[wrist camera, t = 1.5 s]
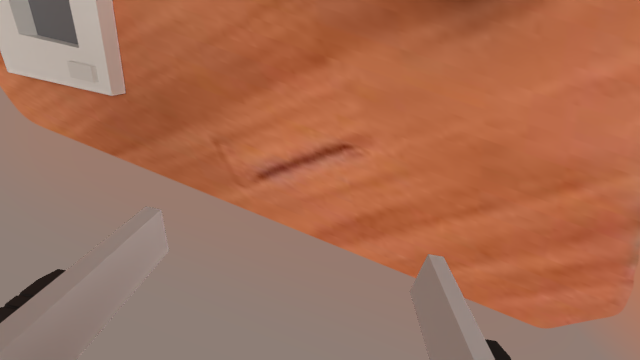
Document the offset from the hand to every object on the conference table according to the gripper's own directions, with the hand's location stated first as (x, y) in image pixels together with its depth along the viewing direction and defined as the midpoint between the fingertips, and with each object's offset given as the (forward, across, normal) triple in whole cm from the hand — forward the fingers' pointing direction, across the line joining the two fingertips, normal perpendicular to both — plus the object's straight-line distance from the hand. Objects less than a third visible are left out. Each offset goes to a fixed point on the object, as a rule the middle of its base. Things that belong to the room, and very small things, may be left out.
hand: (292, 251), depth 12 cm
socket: (+27, -36, +8) cm, 46 cm away
